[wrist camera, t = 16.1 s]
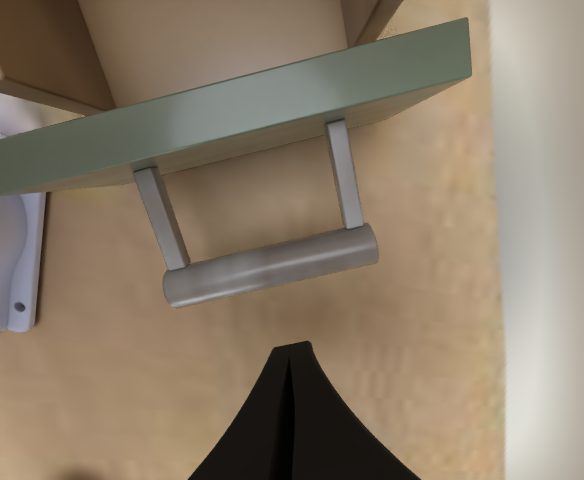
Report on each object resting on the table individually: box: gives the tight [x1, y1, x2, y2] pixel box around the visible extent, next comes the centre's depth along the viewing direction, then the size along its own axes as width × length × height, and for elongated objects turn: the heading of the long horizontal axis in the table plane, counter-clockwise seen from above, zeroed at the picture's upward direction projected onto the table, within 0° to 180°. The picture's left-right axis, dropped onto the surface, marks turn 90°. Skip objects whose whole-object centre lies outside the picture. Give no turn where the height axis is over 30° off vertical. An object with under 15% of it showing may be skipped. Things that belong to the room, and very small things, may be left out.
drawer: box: [0, 0, 472, 309], centre depth 8 cm, size 17×12×6 cm
